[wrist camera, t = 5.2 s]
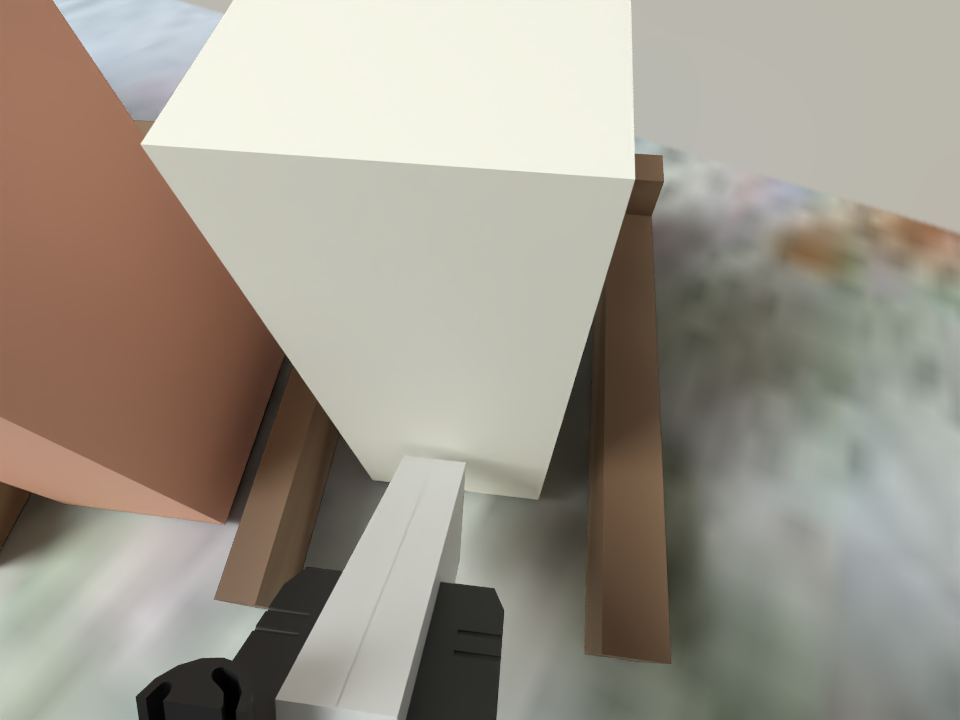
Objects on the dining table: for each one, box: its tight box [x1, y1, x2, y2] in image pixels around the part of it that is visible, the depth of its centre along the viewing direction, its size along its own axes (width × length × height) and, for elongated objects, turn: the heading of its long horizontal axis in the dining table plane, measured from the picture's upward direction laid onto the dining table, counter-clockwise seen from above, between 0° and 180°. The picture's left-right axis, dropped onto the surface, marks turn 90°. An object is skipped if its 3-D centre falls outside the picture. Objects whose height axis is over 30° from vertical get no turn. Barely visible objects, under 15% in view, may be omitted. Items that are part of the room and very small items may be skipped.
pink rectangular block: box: [0, 0, 285, 525], centre depth 12 cm, size 5×6×12 cm
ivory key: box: [140, 0, 635, 500], centre depth 12 cm, size 5×6×12 cm
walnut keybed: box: [0, 120, 671, 664], centre depth 17 cm, size 29×14×4 cm, turn 83°
